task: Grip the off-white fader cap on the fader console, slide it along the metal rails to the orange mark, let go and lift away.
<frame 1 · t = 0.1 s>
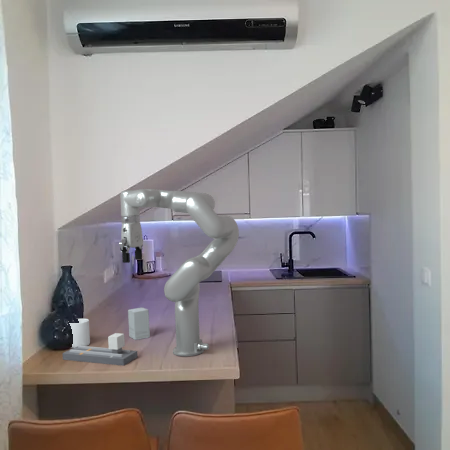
hand: (132, 261, 199), 37 cm above the countertop, tool pointing down, fingers open, 9 cm apart
mug: (75, 346, 207), on the countertop
fader cap: (116, 344, 185), point 6 cm above the countertop, slide at -8.0 cm
fader console: (100, 358, 188), on the countertop
supplement box: (139, 337, 216), on the countertop
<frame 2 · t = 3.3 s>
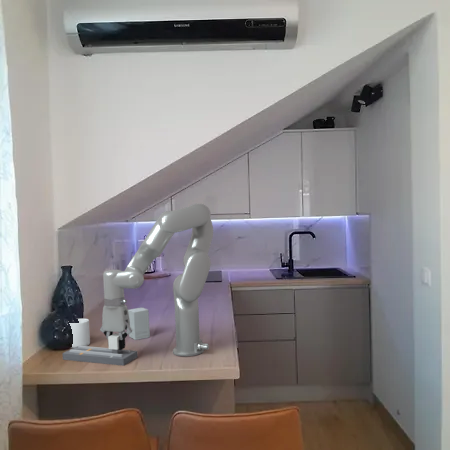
hand: (116, 348, 185), 5 cm above the countertop, tool pointing down, fingers closed on fader cap, 4 cm apart
fader cap: (116, 344, 185), point 6 cm above the countertop, slide at -8.0 cm, touching gripper
everything else where it was.
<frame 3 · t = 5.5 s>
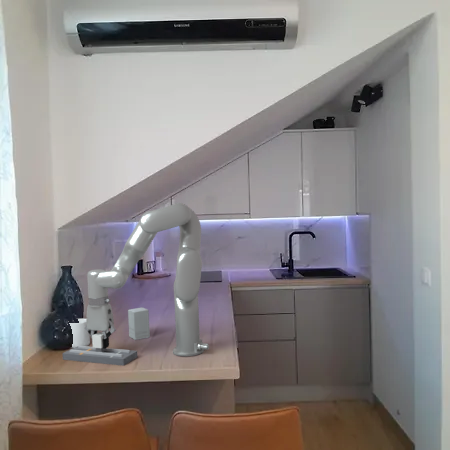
hand: (100, 346, 188), 5 cm above the countertop, tool pointing down, fingers closed on fader cap, 4 cm apart
fader cap: (100, 342, 188), point 6 cm above the countertop, slide at -0.6 cm, touching gripper
everything else where it was.
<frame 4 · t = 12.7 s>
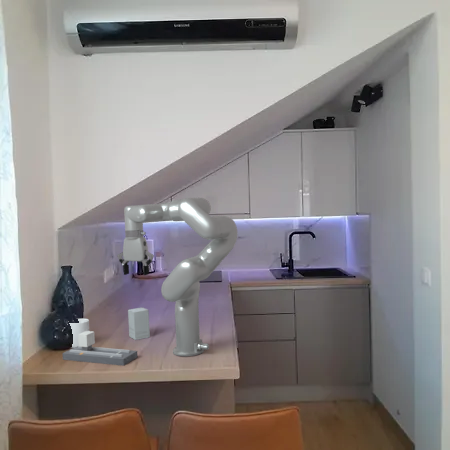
hand: (136, 274, 203), 30 cm above the countertop, tool pointing down, fingers open, 9 cm apart
fader cap: (86, 341, 190), point 6 cm above the countertop, slide at 6.0 cm
everything else where it was.
at the end: fader cap slide at 6.0 cm; the gripper is holding nothing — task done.
